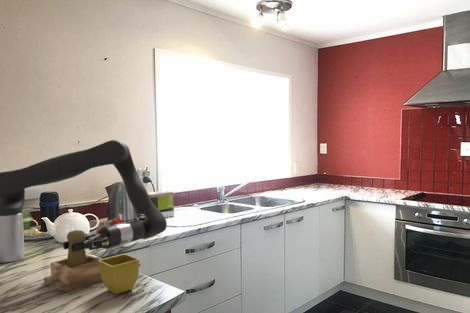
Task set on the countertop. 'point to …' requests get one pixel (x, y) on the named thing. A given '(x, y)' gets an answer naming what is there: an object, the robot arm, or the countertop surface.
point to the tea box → (163, 202)
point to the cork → (77, 256)
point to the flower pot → (119, 272)
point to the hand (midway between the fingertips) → (67, 247)
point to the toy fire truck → (106, 223)
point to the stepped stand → (74, 275)
